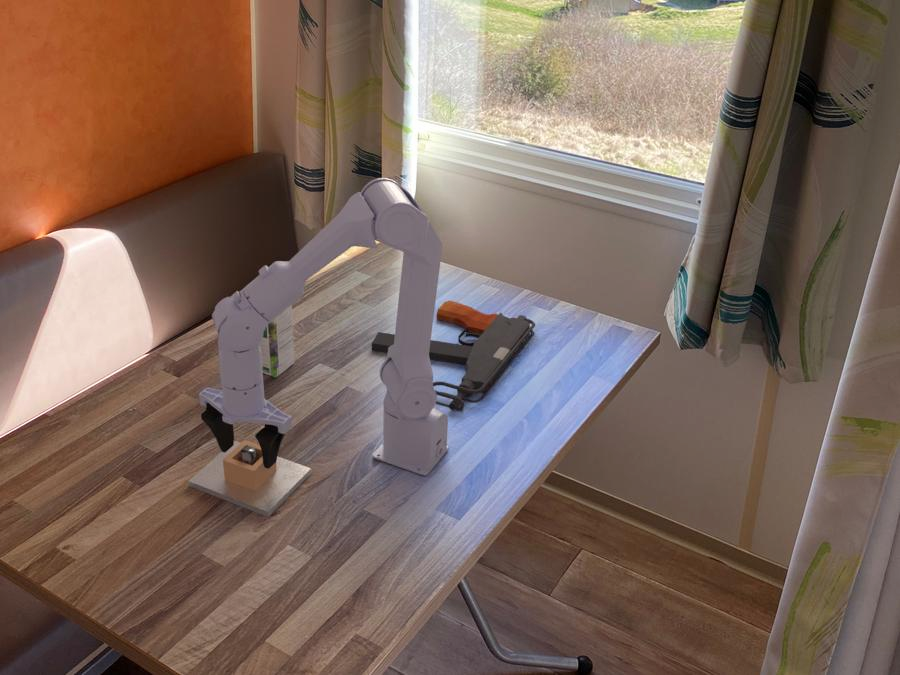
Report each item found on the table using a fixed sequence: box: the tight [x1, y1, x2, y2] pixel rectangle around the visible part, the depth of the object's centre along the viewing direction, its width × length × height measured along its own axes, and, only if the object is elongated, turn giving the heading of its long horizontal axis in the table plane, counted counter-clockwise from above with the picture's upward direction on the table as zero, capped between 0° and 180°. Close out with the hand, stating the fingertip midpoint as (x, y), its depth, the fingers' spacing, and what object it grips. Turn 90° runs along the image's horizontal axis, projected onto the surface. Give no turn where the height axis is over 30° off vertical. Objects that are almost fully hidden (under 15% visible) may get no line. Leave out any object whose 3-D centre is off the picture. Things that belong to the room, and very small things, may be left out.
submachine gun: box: [371, 300, 536, 411], centre depth 177 cm, size 32×3×25 cm
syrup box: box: [259, 304, 295, 378], centre depth 167 cm, size 6×6×14 cm
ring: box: [223, 439, 277, 491], centre depth 143 cm, size 5×5×4 cm
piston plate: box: [188, 440, 312, 518], centre depth 143 cm, size 14×11×6 cm
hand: (248, 456), depth 142 cm, fingers open, 7 cm apart
